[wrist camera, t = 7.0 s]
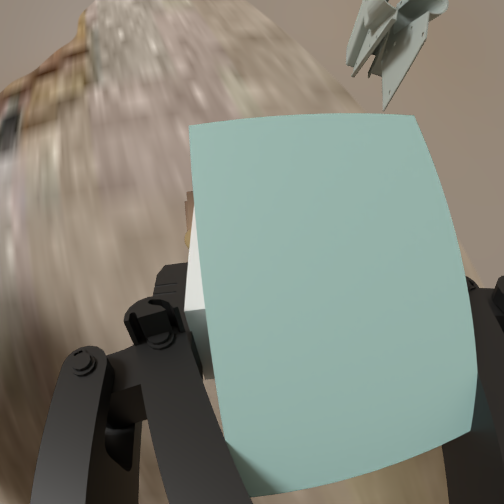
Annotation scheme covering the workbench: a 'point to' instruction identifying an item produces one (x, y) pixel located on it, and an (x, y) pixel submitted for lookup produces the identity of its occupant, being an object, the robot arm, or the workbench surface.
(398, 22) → the bracket
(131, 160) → the workbench surface
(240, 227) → the mint green box
